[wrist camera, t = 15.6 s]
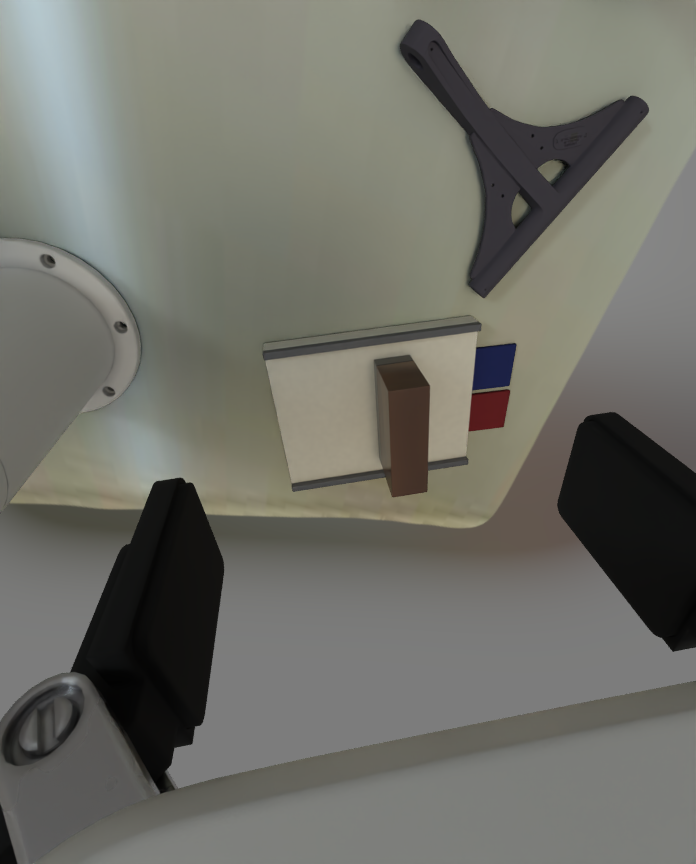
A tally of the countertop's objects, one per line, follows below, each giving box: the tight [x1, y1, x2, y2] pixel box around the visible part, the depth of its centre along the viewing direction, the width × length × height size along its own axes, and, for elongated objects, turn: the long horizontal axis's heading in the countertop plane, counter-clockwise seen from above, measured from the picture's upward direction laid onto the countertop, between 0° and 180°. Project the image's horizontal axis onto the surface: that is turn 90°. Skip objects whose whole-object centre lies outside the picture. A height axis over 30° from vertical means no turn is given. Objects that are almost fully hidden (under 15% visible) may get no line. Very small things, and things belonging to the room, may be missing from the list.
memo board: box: [263, 316, 482, 492], centre depth 36 cm, size 17×14×2 cm
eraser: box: [374, 355, 430, 497], centre depth 34 cm, size 3×10×6 cm, turn 5°
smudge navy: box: [472, 343, 516, 390], centre depth 37 cm, size 4×4×1 cm
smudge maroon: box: [468, 390, 510, 431], centre depth 39 cm, size 4×4×1 cm
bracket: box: [400, 20, 649, 298], centre depth 26 cm, size 14×15×3 cm
